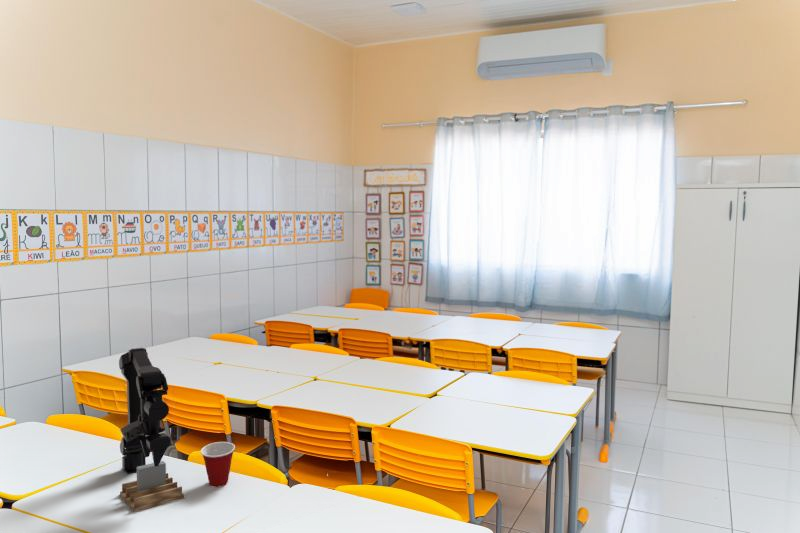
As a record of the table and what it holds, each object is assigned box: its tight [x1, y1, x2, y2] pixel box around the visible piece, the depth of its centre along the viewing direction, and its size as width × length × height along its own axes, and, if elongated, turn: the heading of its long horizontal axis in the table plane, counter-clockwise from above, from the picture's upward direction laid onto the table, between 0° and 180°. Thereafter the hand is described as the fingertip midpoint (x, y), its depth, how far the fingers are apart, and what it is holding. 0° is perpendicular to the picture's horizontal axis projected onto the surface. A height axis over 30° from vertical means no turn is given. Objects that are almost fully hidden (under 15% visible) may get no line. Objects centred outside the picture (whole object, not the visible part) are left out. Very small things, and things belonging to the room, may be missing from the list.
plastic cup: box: [200, 441, 236, 488], centre depth 203 cm, size 11×11×12 cm
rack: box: [119, 472, 185, 513], centre depth 193 cm, size 15×14×4 cm
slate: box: [136, 460, 167, 492], centre depth 193 cm, size 8×2×9 cm, turn 129°
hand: (151, 461), depth 192 cm, fingers open, 9 cm apart
